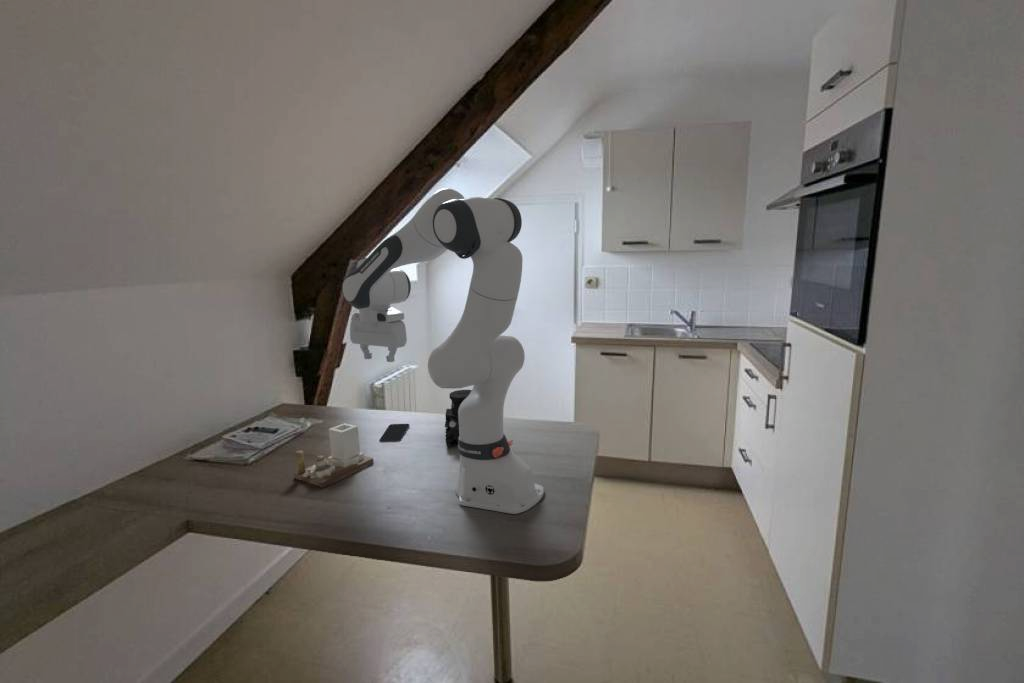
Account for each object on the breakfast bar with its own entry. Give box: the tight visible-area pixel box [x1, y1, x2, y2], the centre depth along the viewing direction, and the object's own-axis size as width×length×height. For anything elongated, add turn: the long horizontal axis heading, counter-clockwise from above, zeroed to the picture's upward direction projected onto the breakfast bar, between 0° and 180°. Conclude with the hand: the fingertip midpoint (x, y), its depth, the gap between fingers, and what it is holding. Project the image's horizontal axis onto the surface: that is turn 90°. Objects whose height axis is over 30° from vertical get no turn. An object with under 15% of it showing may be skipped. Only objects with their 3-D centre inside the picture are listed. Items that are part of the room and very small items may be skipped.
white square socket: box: [327, 422, 365, 467], centre depth 143 cm, size 10×10×10 cm
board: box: [293, 450, 374, 489], centre depth 140 cm, size 12×18×8 cm
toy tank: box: [444, 389, 472, 447], centre depth 161 cm, size 12×18×15 cm
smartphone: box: [378, 423, 410, 443], centre depth 168 cm, size 7×1×15 cm
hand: (379, 360), depth 147 cm, fingers open, 8 cm apart
